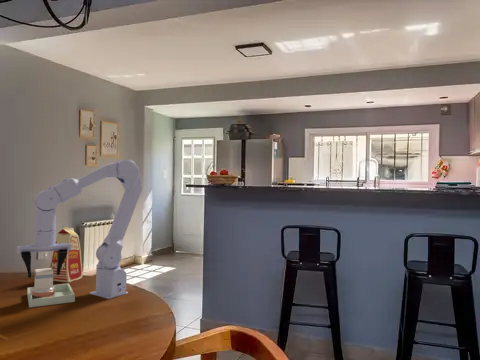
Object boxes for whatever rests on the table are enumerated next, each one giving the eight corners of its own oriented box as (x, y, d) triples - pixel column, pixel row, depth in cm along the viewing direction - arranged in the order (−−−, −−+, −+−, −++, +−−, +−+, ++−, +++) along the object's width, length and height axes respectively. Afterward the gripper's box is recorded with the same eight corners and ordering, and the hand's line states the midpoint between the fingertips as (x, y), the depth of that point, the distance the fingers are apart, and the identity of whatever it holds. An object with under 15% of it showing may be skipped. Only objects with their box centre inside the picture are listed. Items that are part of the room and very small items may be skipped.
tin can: (58, 299, 116) (59, 286, 116) (39, 304, 111) (39, 290, 111) (47, 296, 119) (47, 283, 119) (27, 300, 114) (27, 287, 114)
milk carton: (69, 283, 136) (70, 227, 136) (46, 281, 138) (47, 225, 138) (84, 277, 145) (85, 224, 145) (62, 275, 147) (64, 223, 147)
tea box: (53, 287, 115) (53, 271, 115) (35, 289, 112) (36, 272, 112) (51, 284, 119) (51, 267, 119) (34, 285, 116) (34, 269, 116)
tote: (74, 303, 115) (74, 294, 115) (28, 308, 108) (29, 300, 108) (68, 291, 127) (68, 283, 127) (27, 295, 120) (27, 287, 121)
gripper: (69, 228, 123) (68, 270, 122) (17, 229, 115) (16, 275, 115) (72, 230, 116) (71, 275, 116) (17, 232, 109) (16, 280, 109)
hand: (44, 275), depth 115 cm, fingers open, 7 cm apart
